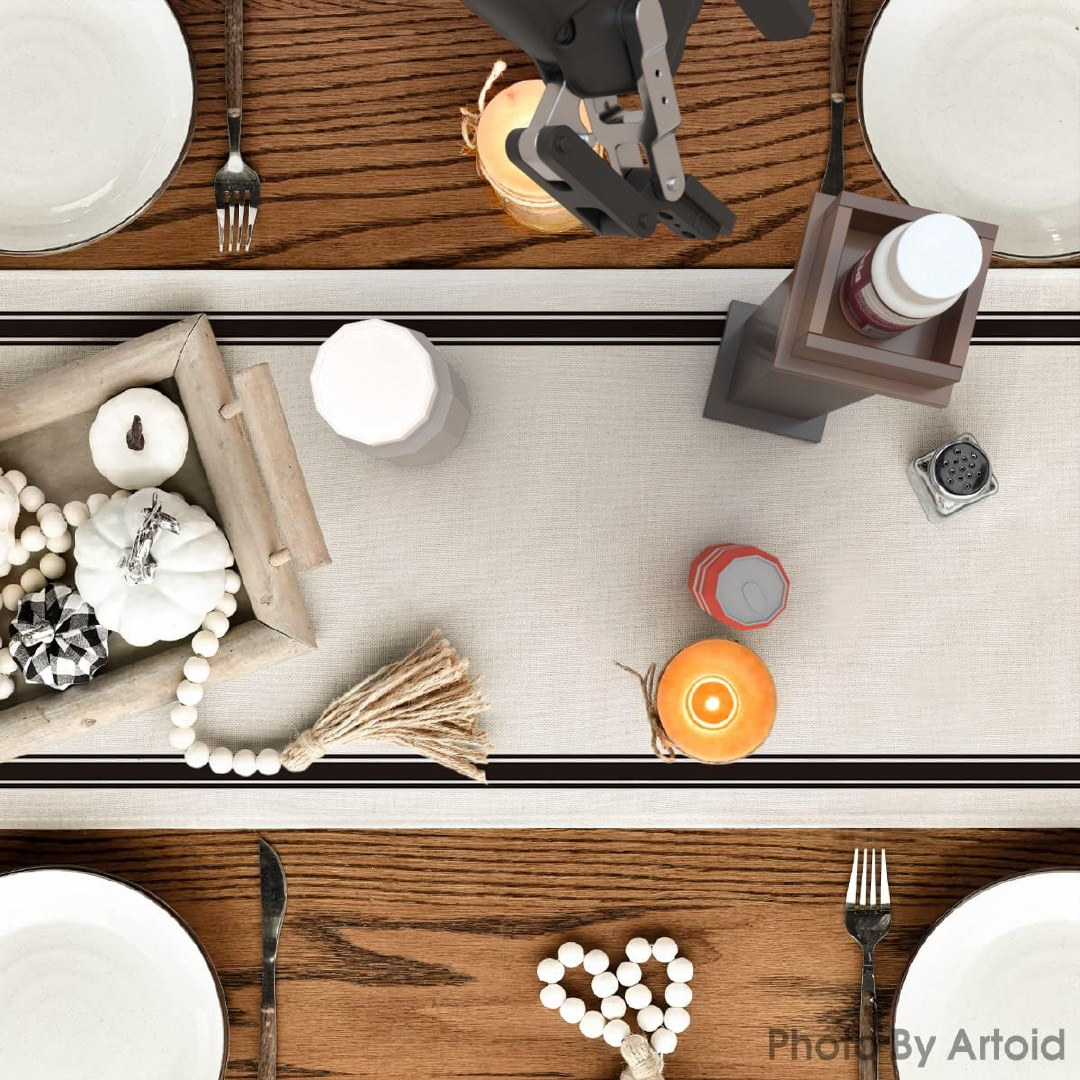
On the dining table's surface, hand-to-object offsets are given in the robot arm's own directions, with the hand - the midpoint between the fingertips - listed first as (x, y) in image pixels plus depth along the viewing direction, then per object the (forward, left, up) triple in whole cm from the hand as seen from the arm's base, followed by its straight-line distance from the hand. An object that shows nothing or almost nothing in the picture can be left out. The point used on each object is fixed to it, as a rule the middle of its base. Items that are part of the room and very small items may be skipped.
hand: (756, 129), depth 38 cm
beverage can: (+20, +10, -41) cm, 46 cm away
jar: (+12, -19, -41) cm, 46 cm away
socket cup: (+2, +10, -15) cm, 18 cm away
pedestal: (+2, +10, -41) cm, 42 cm away
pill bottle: (+1, +10, -14) cm, 17 cm away
